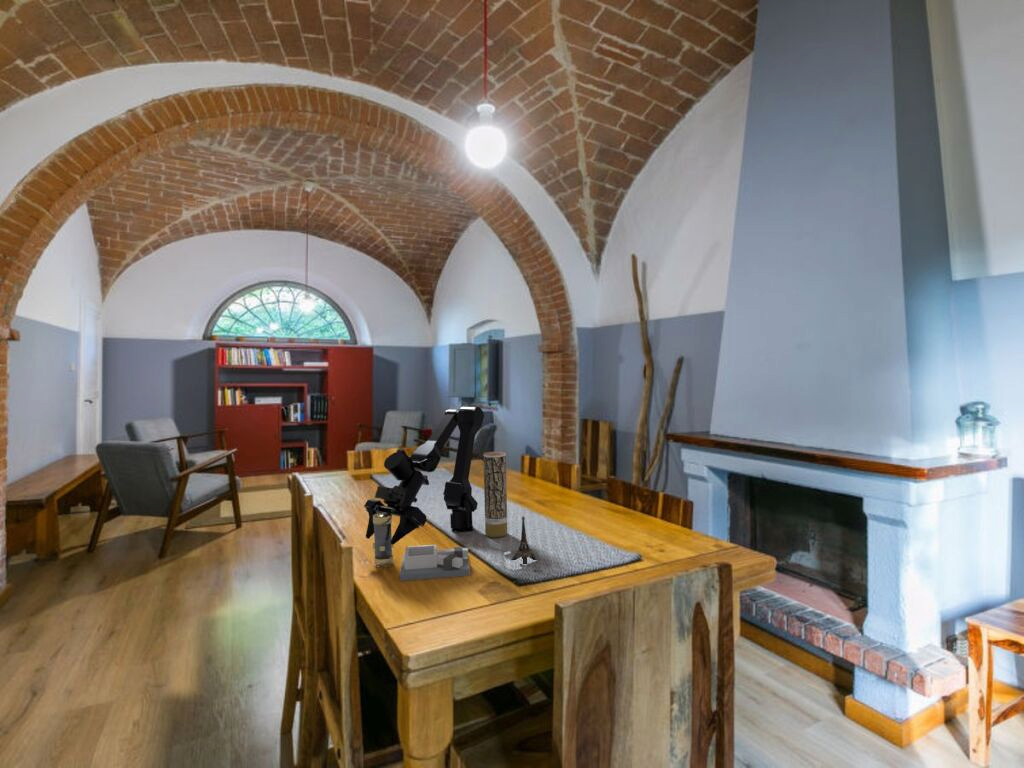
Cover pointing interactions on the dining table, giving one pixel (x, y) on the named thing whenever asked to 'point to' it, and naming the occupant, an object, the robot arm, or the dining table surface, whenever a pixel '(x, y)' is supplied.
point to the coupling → (382, 539)
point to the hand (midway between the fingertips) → (379, 540)
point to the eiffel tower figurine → (522, 550)
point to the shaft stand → (433, 563)
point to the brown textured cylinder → (495, 494)
